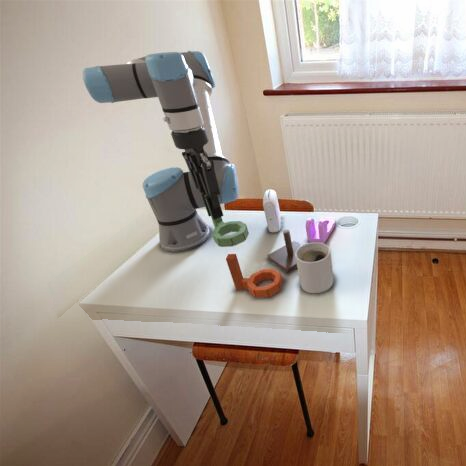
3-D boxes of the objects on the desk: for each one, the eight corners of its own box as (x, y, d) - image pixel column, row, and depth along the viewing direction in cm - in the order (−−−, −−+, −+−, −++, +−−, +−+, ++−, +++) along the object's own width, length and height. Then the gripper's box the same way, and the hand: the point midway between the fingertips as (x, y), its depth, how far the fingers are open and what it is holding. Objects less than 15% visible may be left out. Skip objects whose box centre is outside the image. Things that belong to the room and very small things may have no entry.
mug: (320, 298, 82) (315, 267, 76) (291, 285, 86) (285, 255, 81) (344, 273, 89) (341, 243, 84) (316, 263, 94) (312, 234, 88)
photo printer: (281, 232, 109) (274, 199, 102) (268, 233, 109) (260, 200, 102) (282, 217, 118) (276, 185, 111) (270, 218, 117) (263, 187, 110)
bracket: (324, 243, 102) (321, 224, 98) (307, 241, 104) (305, 222, 100) (337, 222, 112) (335, 204, 109) (322, 220, 114) (320, 202, 110)
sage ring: (253, 236, 87) (244, 201, 81) (224, 250, 82) (212, 214, 76) (232, 221, 94) (222, 188, 88) (204, 233, 89) (191, 199, 83)
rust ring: (284, 275, 90) (277, 244, 84) (278, 297, 83) (271, 264, 77) (241, 277, 90) (232, 246, 85) (232, 299, 83) (221, 267, 77)
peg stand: (267, 259, 97) (261, 232, 91) (294, 244, 102) (290, 218, 97) (287, 273, 90) (281, 245, 85) (315, 257, 96) (311, 230, 91)
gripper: (159, 127, 78) (191, 212, 91) (184, 138, 69) (215, 231, 82) (190, 120, 82) (216, 202, 95) (217, 129, 73) (242, 219, 86)
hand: (215, 215), depth 89 cm, fingers closed on sage ring, 2 cm apart
